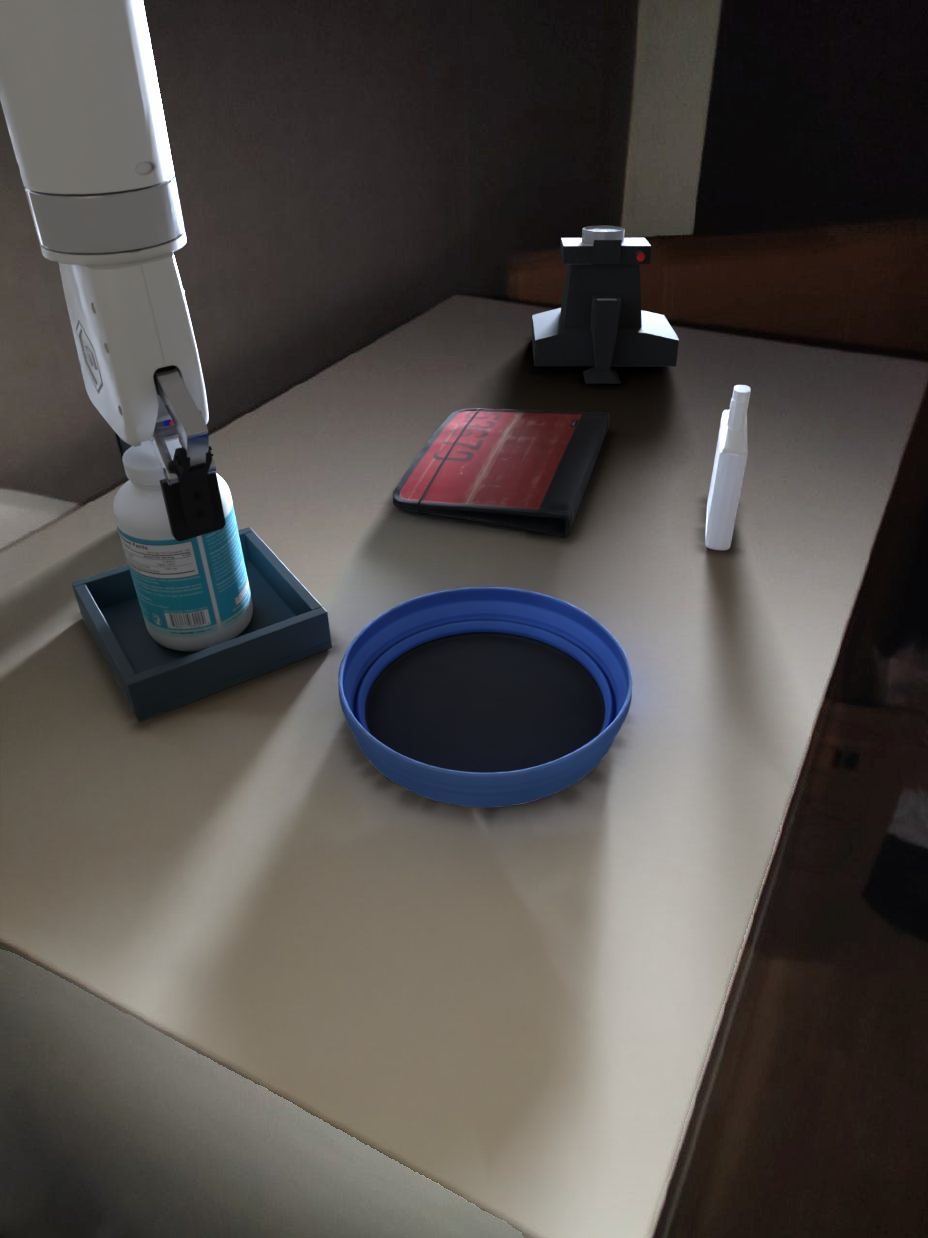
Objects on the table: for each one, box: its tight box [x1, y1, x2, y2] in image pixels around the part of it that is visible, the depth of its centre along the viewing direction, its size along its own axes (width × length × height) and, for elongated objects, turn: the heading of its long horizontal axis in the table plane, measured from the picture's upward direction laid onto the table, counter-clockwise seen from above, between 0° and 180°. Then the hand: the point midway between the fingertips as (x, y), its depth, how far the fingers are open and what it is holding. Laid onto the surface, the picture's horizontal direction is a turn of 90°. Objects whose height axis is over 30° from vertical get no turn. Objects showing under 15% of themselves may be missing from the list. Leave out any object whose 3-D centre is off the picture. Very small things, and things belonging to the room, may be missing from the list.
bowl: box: [337, 586, 633, 808], centre depth 57 cm, size 18×18×4 cm
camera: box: [531, 225, 680, 385], centre depth 102 cm, size 16×14×15 cm
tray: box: [70, 526, 333, 723], centre depth 64 cm, size 14×14×3 cm
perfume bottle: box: [704, 384, 752, 551], centre depth 73 cm, size 8×2×12 cm, turn 166°
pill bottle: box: [112, 439, 253, 651], centre depth 61 cm, size 8×7×14 cm
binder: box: [392, 407, 611, 538], centre depth 84 cm, size 16×2×21 cm
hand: (173, 500), depth 59 cm, fingers open, 9 cm apart
